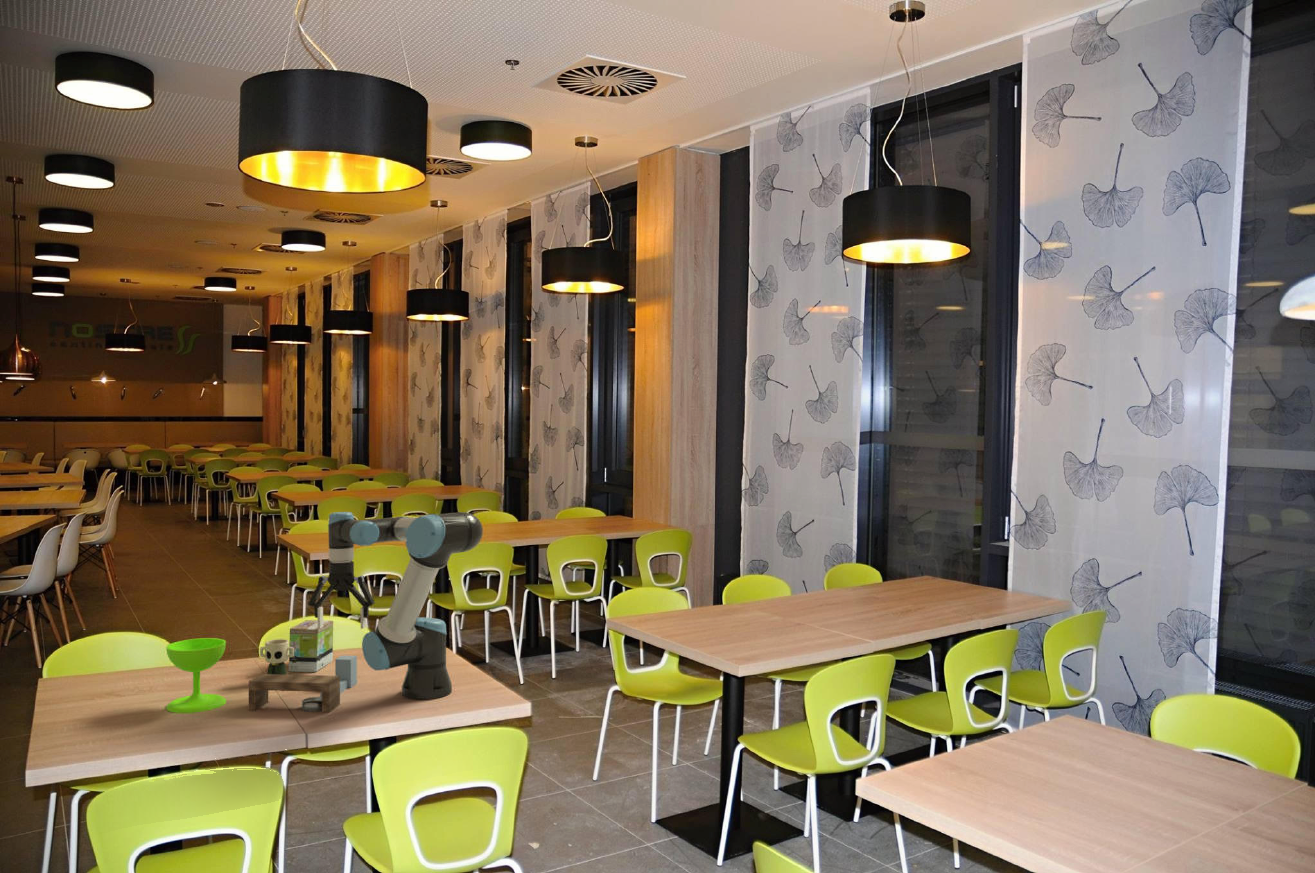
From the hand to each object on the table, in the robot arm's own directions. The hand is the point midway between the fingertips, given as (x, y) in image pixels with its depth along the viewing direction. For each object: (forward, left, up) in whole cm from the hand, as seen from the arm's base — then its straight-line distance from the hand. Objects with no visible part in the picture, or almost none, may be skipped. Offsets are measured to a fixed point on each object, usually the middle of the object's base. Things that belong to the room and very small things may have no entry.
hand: (341, 627), depth 300 cm
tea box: (+20, -23, -19) cm, 36 cm away
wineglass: (+35, +22, -19) cm, 46 cm away
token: (-1, +22, -19) cm, 29 cm away
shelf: (+5, +22, -19) cm, 29 cm away
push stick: (-1, +5, -19) cm, 19 cm away
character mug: (+23, -4, -19) cm, 30 cm away
